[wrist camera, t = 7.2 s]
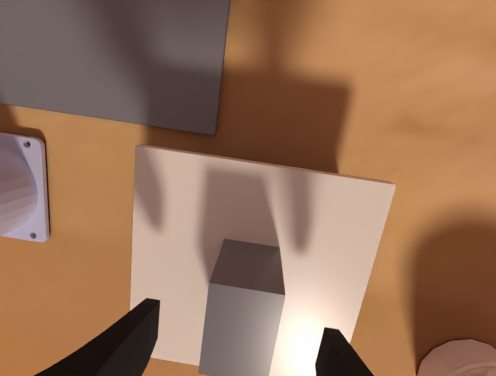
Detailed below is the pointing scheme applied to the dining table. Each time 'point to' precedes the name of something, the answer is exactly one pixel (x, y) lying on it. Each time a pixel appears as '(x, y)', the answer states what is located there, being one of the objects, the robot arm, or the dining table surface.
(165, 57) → the mat
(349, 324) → the lid
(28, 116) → the dining table surface
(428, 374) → the white cup
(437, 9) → the dining table surface
